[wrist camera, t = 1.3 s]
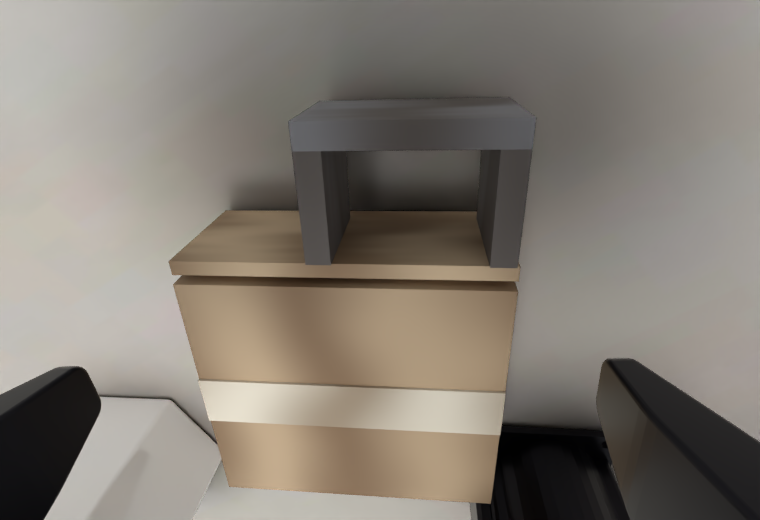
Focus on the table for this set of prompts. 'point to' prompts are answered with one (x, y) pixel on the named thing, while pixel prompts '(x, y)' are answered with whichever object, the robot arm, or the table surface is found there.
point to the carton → (353, 381)
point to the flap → (382, 228)
